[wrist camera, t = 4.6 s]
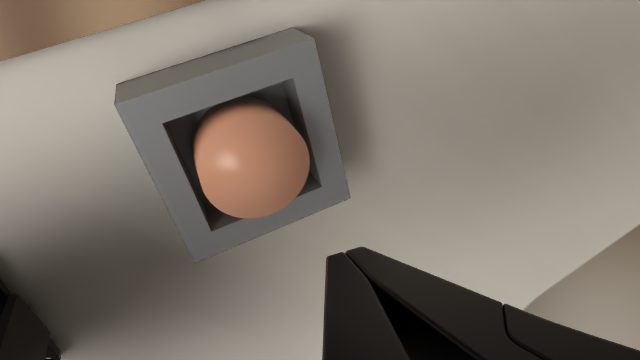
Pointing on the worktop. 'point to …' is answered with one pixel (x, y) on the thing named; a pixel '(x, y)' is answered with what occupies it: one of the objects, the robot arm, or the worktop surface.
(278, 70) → the button housing
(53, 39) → the brown flat square block
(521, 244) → the worktop surface
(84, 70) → the worktop surface
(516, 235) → the worktop surface
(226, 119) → the button
